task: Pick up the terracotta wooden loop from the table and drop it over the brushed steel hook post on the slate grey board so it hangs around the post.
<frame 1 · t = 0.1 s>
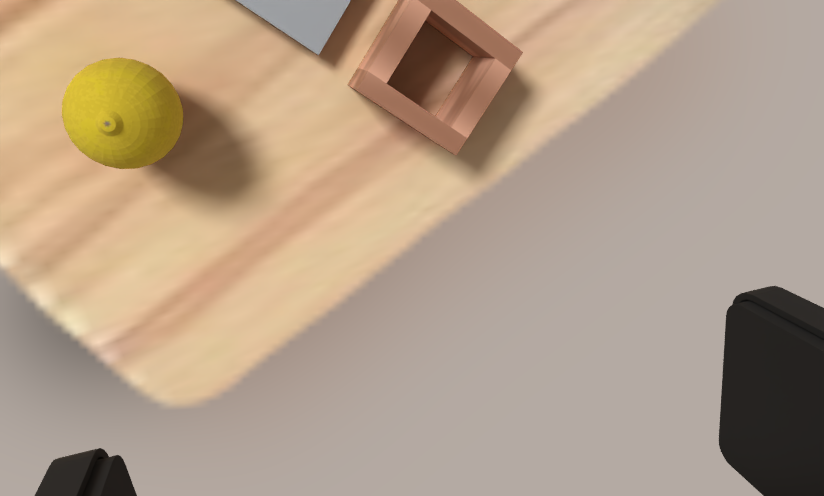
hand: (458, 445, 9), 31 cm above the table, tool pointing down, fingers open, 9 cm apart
wooden loop: (424, 67, 38), on the table
lemon: (140, 105, 35), on the table
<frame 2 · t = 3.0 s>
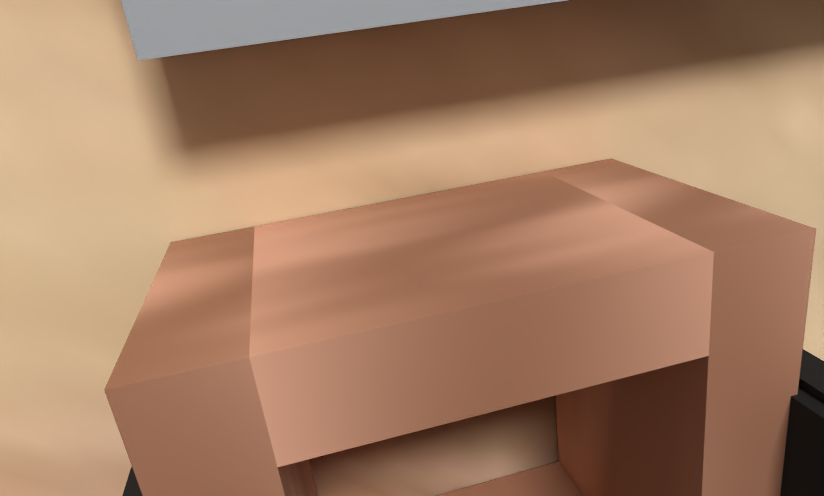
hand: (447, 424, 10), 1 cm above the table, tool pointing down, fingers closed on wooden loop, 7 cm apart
wooden loop: (431, 389, 11), on the table, touching gripper
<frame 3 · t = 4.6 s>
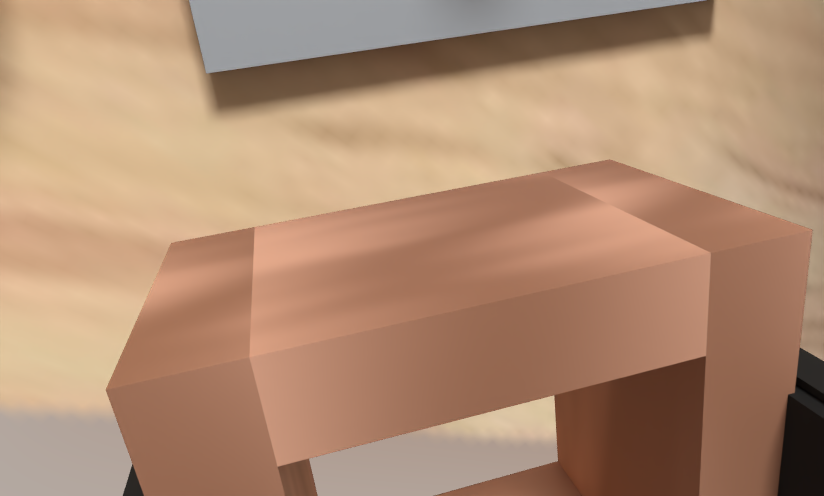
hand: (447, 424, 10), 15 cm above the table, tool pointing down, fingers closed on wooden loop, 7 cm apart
wooden loop: (430, 389, 11), point 14 cm above the table, touching gripper
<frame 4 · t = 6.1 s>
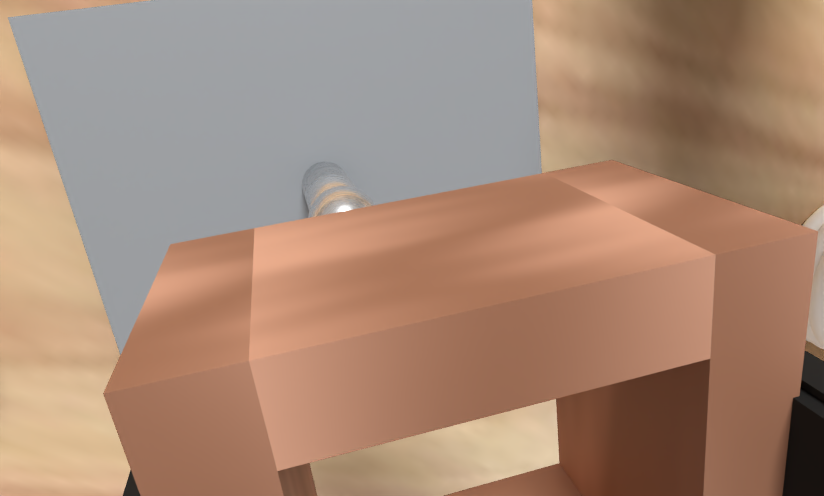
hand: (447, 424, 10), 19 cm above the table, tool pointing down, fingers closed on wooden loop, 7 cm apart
hook board: (321, 177, 28), on the table
wooden loop: (431, 391, 11), point 18 cm above the table, touching gripper
hook post: (335, 204, 23), on the hook board, point 5 cm above the table
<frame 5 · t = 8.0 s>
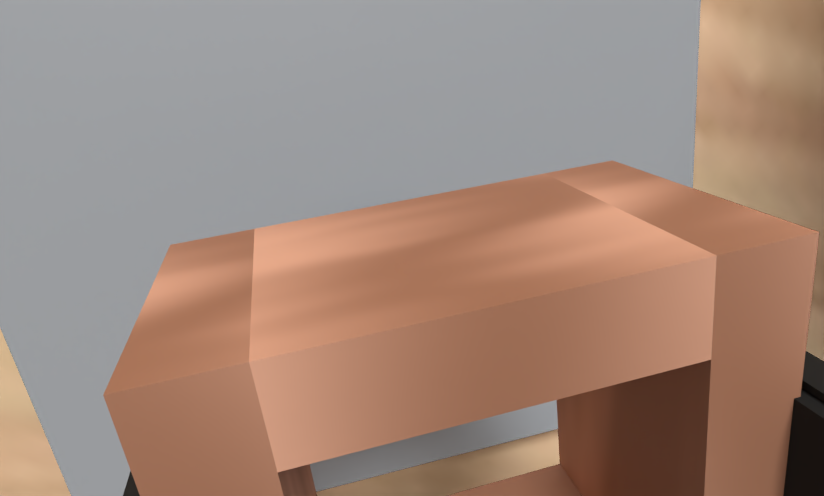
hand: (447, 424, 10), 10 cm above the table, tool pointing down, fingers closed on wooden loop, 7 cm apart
hook board: (368, 226, 19), on the table
wooden loop: (432, 392, 11), point 9 cm above the table, touching gripper
when the fingers open (5 cm above the table, at t = 9.5 s): wooden loop drops 2 cm, resting on hook board.
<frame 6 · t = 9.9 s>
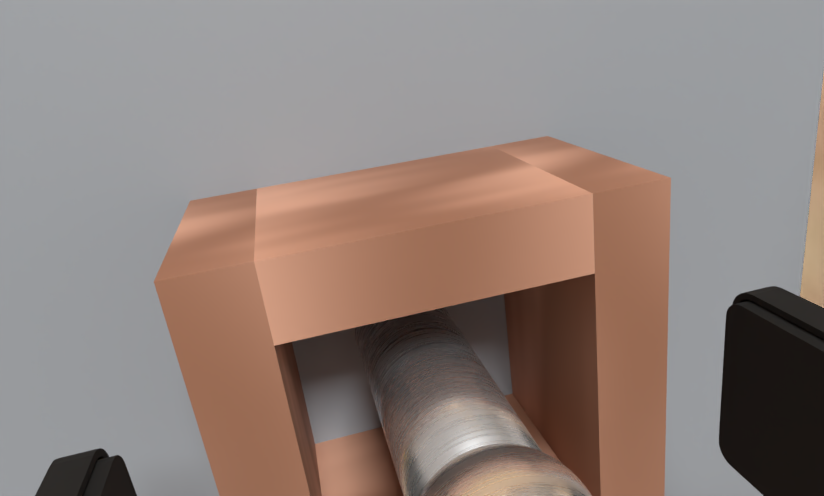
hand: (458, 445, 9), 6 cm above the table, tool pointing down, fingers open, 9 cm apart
hook board: (388, 300, 14), on the table
wooden loop: (402, 327, 13), point 1 cm above the table, touching hook board
hook post: (450, 429, 10), on the hook board, point 5 cm above the table
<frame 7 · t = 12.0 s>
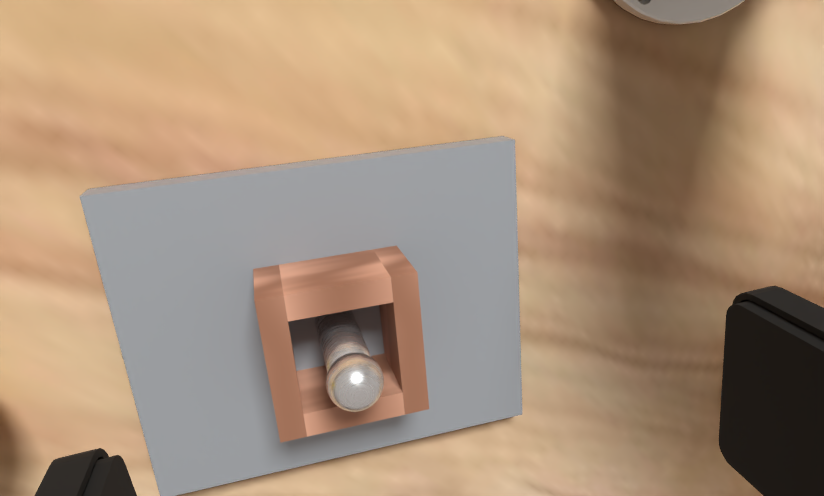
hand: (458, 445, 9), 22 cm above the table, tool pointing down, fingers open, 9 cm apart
hook board: (331, 310, 32), on the table
wooden loop: (335, 321, 31), point 1 cm above the table, touching hook board
hook post: (346, 355, 27), on the hook board, point 5 cm above the table
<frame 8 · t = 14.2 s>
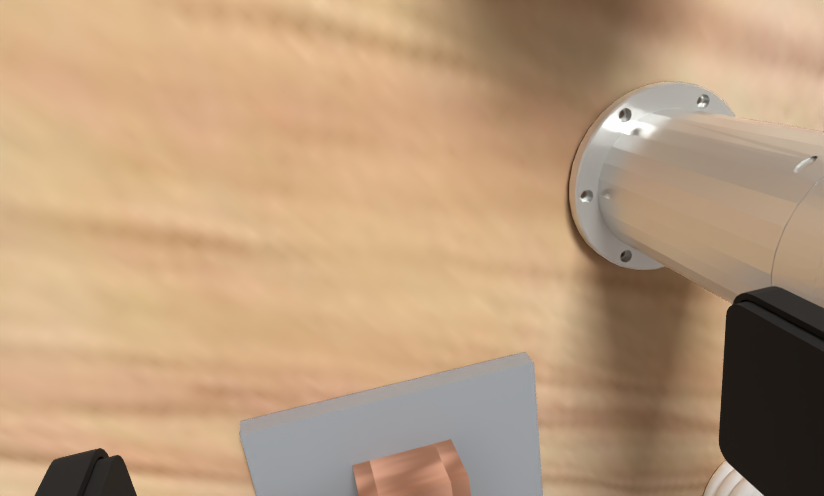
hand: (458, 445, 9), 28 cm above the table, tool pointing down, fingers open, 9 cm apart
hook board: (404, 478, 44), on the table
coaster: (747, 484, 54), on the table
wooden loop: (409, 491, 43), point 1 cm above the table, touching hook board
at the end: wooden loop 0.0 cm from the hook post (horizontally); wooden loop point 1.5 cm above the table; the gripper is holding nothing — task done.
